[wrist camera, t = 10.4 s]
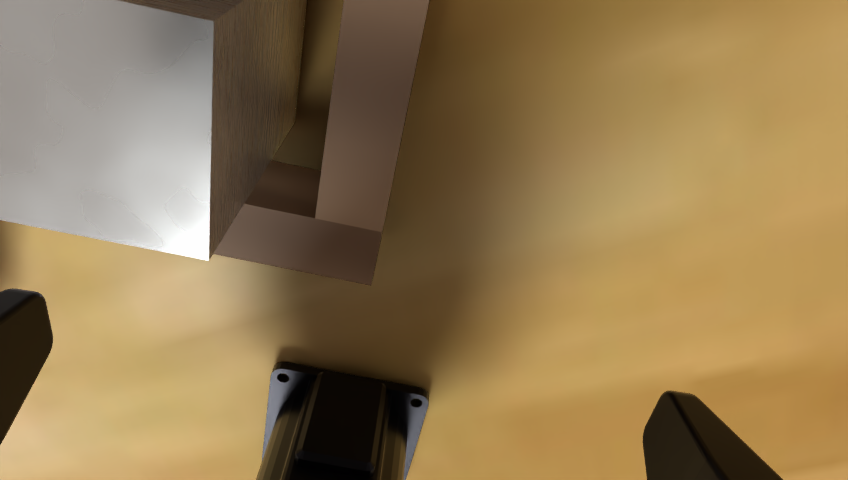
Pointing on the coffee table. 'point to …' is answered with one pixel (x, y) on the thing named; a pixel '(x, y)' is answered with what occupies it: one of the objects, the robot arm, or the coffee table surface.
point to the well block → (341, 156)
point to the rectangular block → (143, 114)
